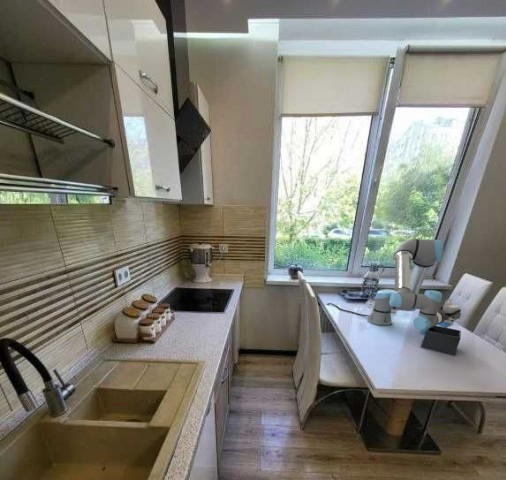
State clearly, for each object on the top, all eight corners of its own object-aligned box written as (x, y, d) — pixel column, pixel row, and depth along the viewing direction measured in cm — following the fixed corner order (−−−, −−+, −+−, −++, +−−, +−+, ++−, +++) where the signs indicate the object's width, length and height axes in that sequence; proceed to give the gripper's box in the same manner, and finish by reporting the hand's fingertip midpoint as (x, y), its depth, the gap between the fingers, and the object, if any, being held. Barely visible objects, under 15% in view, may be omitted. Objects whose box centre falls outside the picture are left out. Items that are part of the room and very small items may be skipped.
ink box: (446, 328, 153) (454, 302, 147) (437, 325, 157) (444, 300, 151) (453, 325, 158) (462, 300, 152) (444, 322, 161) (452, 298, 155)
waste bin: (420, 347, 163) (425, 330, 158) (423, 339, 173) (428, 323, 168) (454, 355, 154) (460, 338, 150) (455, 347, 164) (461, 330, 159)
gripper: (415, 319, 153) (435, 312, 165) (451, 330, 139) (469, 321, 152) (418, 306, 150) (438, 300, 162) (455, 316, 136) (474, 308, 149)
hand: (453, 310), depth 157 cm, fingers closed on ink box, 5 cm apart
